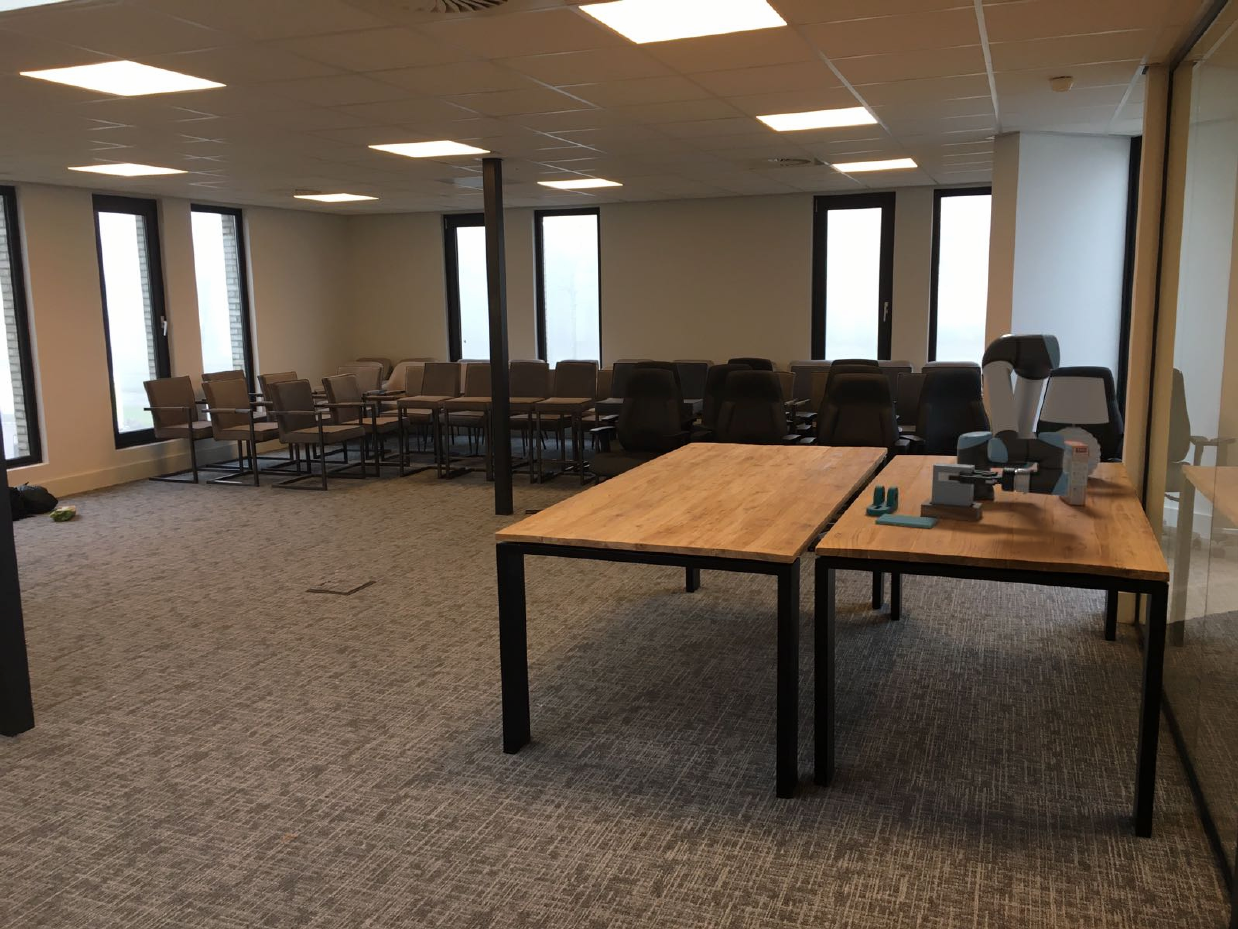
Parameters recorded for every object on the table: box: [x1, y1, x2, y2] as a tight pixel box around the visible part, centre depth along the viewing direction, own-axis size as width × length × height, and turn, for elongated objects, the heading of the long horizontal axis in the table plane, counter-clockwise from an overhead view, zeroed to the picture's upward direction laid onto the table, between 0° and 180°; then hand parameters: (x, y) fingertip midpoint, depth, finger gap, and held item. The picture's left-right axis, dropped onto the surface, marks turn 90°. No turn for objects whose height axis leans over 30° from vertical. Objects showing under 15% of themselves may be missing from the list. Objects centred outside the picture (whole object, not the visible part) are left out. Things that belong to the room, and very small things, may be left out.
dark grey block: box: [931, 462, 975, 508], centre depth 325 cm, size 6×12×14 cm, turn 62°
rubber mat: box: [874, 513, 939, 529], centre depth 316 cm, size 12×17×1 cm
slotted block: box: [919, 498, 983, 522], centre depth 326 cm, size 12×18×4 cm, turn 62°
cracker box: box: [1058, 441, 1090, 506], centre depth 348 cm, size 14×6×21 cm, turn 168°
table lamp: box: [1039, 376, 1110, 477], centre depth 400 cm, size 25×25×40 cm
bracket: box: [865, 485, 899, 517], centre depth 334 cm, size 18×7×8 cm, turn 151°
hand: (940, 474), depth 326 cm, fingers closed on dark grey block, 6 cm apart
